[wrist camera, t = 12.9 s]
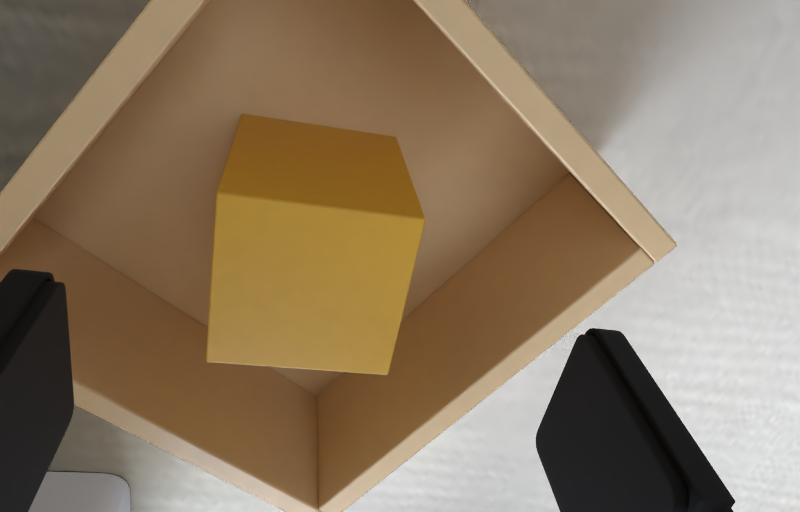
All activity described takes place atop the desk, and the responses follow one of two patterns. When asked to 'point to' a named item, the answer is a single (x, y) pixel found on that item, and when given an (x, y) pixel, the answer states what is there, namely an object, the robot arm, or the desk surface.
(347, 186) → the mustard box
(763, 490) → the desk surface
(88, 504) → the white triangular prism tub
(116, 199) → the sand bin
